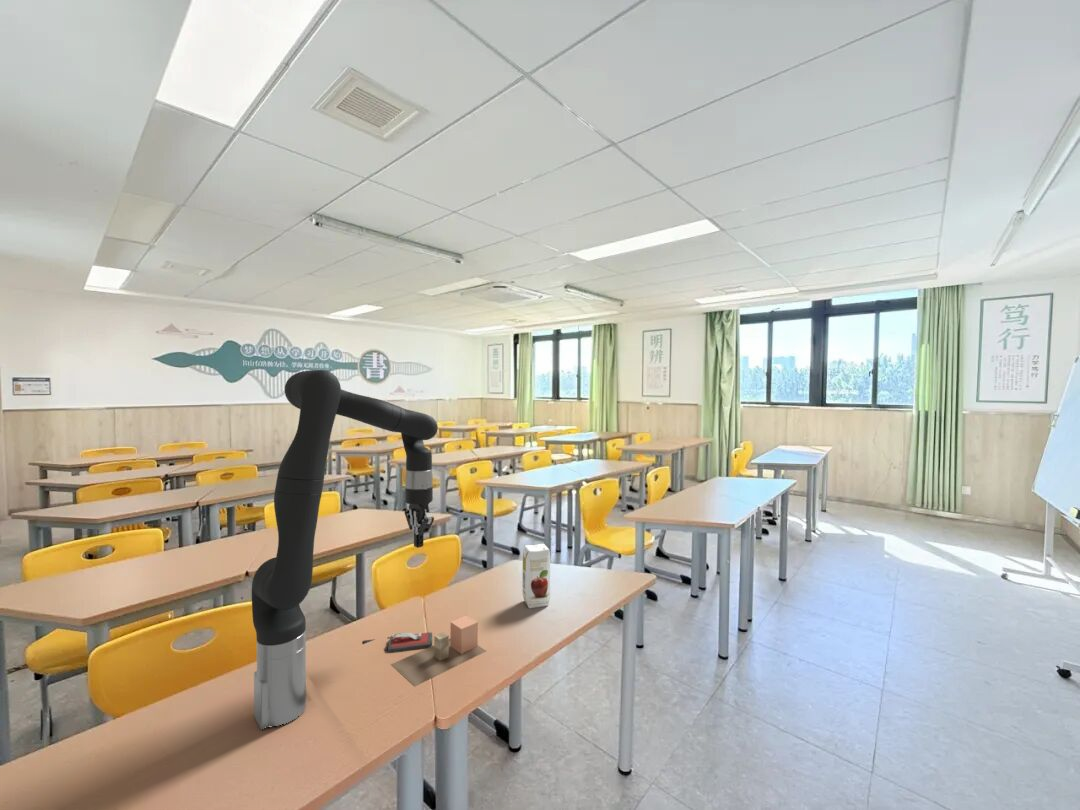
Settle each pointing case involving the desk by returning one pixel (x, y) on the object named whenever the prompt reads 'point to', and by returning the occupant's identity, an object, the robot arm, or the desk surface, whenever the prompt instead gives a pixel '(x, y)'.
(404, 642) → the walkie-talkie
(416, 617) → the desk surface
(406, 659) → the board
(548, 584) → the juice carton
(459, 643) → the peach cube
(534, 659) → the desk surface
